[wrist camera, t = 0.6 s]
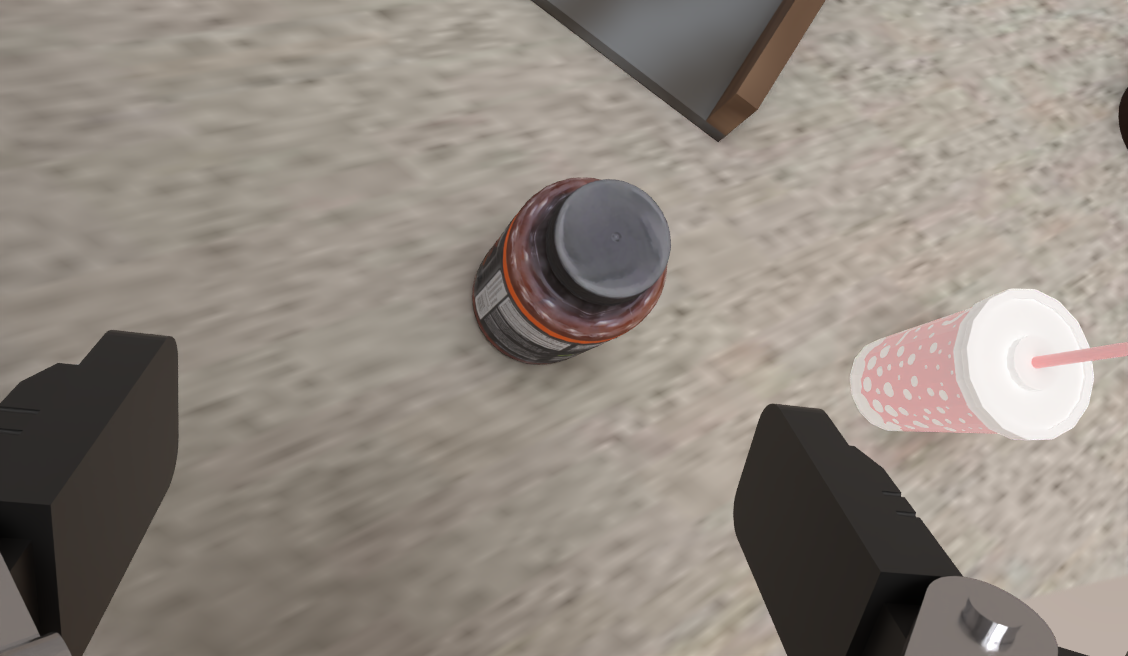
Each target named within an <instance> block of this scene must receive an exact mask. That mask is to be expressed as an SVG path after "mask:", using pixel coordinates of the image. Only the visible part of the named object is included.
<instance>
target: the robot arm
mask: <svg viewBox="0 0 1128 656" xmlns="http://www.w3.org/2000/svg"><path fill="white" fill-rule="evenodd" d="M177 453H178V351H177V345H176V341H175V339H174V338H173V337H171V336H162V335H153V334H144V333H135V332H126V331H117V330H110V331H108V332H107V333H105V335H104V336H103V337H102V338H101V339H100V340H99V342H98V343H97V344H96V345H95V346H94V347H93V349H92V350H91V351H90V352H89V353H88V355H87V356H86V357H85V358H84V359H83V360H82V362H81V363H80V364H79V365H72V364H62V363H57V364H55V365H53V366H51V367H49V368H47V369H45V370H43V371H41V372H39V373H37V374H35V375H33V376H31V377H29V378H27V379H25V380H23V381H21V382H20V383H19V384H18V385H17V386H16V387H15V388H14V389H13V390H12V391H11V392H10V393H9V395H8V396H7V397H6V398H5V399H4V400H3V401H2V402H1V403H0V656H82V655H83V653H84V651H85V649H86V647H87V645H88V644H89V642H90V640H91V638H92V636H93V634H94V632H95V630H96V628H97V626H98V624H99V622H100V620H101V618H102V616H103V614H104V612H105V611H106V609H107V607H108V605H109V603H110V601H111V599H112V597H113V595H114V593H115V591H116V589H117V587H118V585H119V583H120V581H121V579H122V577H123V576H124V574H125V572H126V570H127V568H128V566H129V564H130V562H131V560H132V558H133V556H134V554H135V552H136V550H137V548H138V546H139V544H140V543H141V541H142V539H143V537H144V535H145V533H146V531H147V529H148V527H149V525H150V523H151V521H152V519H153V517H154V515H155V513H156V511H157V510H158V508H159V506H160V504H161V502H162V500H163V498H164V496H165V494H166V492H167V490H168V488H169V486H170V483H171V480H172V477H173V473H174V470H175V465H176V460H177ZM915 514H916V512H915V511H914V509H913V508H912V507H911V505H910V504H909V503H908V501H907V500H906V498H905V497H901V492H900V490H899V489H898V488H897V486H896V485H895V484H894V482H893V481H892V480H891V478H890V477H889V475H888V474H887V473H886V471H885V470H884V469H883V468H882V467H881V466H879V465H878V464H877V463H876V462H874V461H873V460H872V459H870V458H869V457H868V456H867V455H865V454H864V453H863V452H861V451H860V450H859V449H857V448H856V447H855V446H849V445H848V443H847V442H846V440H845V439H844V438H843V436H842V435H841V433H840V432H839V431H838V429H837V428H836V426H835V425H834V423H833V422H832V421H831V419H830V418H829V416H828V415H827V414H826V413H825V411H823V410H822V409H817V408H808V407H799V406H790V405H781V404H769V405H768V406H767V407H766V408H765V409H764V410H763V412H762V414H761V416H760V419H759V421H758V424H757V428H756V431H755V434H754V437H753V440H752V443H751V447H750V450H749V453H748V456H747V459H746V462H745V466H744V469H743V472H742V475H741V478H740V481H739V485H738V488H737V491H736V495H735V500H734V511H733V518H734V528H735V532H736V536H737V539H738V541H739V543H740V546H741V548H742V550H743V553H744V555H745V557H746V560H747V562H748V564H749V567H750V569H751V572H752V574H753V576H754V579H755V581H756V583H757V586H758V588H759V590H760V593H761V595H762V597H763V600H764V602H765V604H766V607H767V609H768V611H769V614H770V616H771V618H772V621H773V623H774V625H775V628H776V630H777V633H778V635H779V637H780V640H781V642H782V644H783V647H784V649H785V651H786V654H787V656H1088V655H1084V654H1081V653H1078V652H1074V651H1071V650H1068V649H1064V648H1061V647H1058V644H1057V642H1056V639H1055V636H1054V634H1053V632H1052V631H1051V629H1050V628H1049V626H1048V625H1047V624H1046V622H1045V621H1044V620H1043V619H1042V618H1041V617H1040V616H1039V615H1038V614H1037V613H1036V612H1035V611H1034V610H1033V609H1031V608H1030V607H1029V606H1028V605H1026V604H1025V603H1024V602H1022V601H1021V600H1020V599H1018V598H1016V597H1015V596H1013V595H1011V594H1010V593H1008V592H1006V591H1004V590H1002V589H1000V588H998V587H996V586H994V585H991V584H989V583H986V582H983V581H980V580H977V579H972V578H968V577H963V576H962V574H961V573H960V572H959V570H958V569H957V568H956V566H955V565H954V563H953V562H952V561H951V559H950V558H949V557H948V555H947V554H946V553H945V551H944V550H943V549H942V547H941V546H940V544H939V543H938V542H937V540H936V539H935V538H934V536H933V535H932V534H931V532H930V531H929V530H928V528H927V527H926V526H925V524H924V523H923V521H922V520H921V519H920V518H918V517H916V516H915ZM1125 656H1128V652H1127V654H1126V655H1125Z"/></svg>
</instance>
